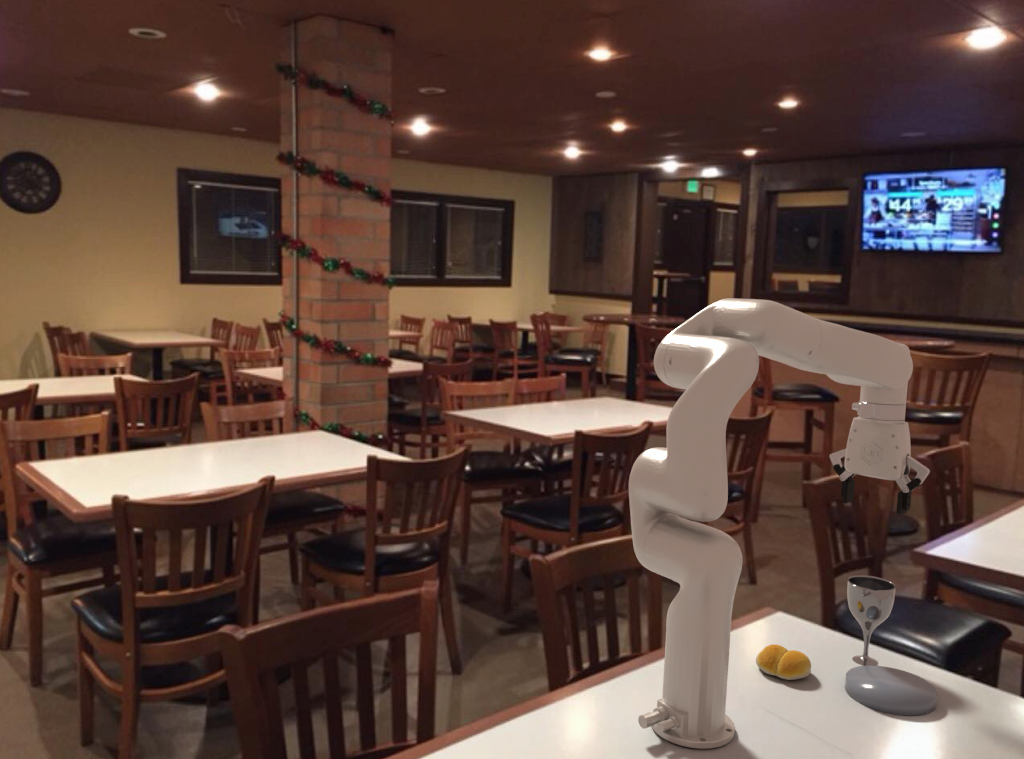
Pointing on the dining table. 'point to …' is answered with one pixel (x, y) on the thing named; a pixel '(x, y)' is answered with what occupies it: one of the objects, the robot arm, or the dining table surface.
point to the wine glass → (869, 607)
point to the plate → (891, 690)
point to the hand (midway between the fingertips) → (874, 507)
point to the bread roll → (783, 662)
